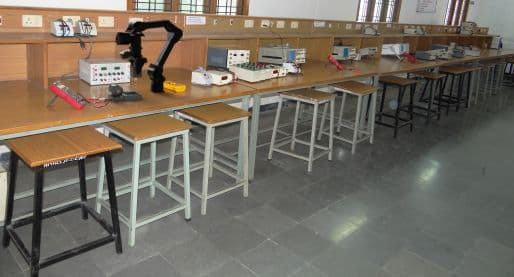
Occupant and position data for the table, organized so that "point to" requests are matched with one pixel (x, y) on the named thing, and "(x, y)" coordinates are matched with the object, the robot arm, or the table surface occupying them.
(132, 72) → the pump block
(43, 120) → the table surface
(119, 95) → the motor mount
